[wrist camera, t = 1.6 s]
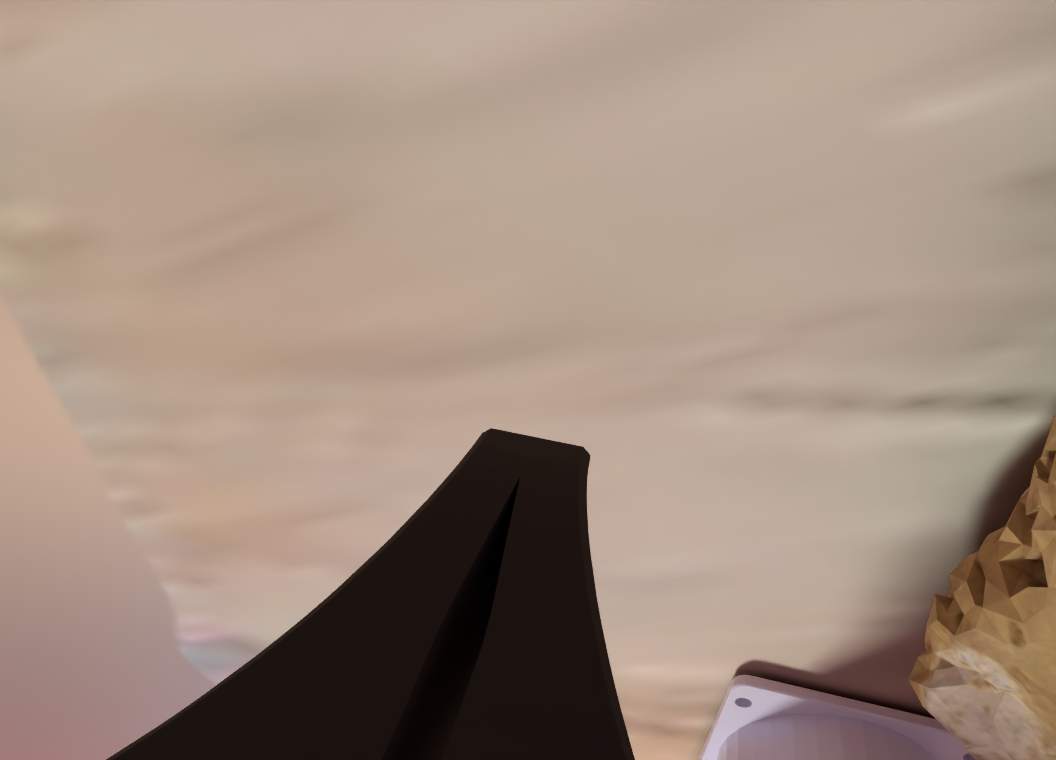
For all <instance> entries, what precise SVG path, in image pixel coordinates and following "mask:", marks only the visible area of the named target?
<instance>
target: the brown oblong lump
mask: <svg viewBox="0 0 1056 760" xmlns="http://www.w3.org/2000/svg"><path fill="white" fill-rule="evenodd" d="M949 579H950V582H951V585H952V587H951V589H950V591H949V593H948V595H947V596H946V597H944V596H939V595H935V597H934V601H933V604H932V608H931V611H930V615H929V618H928V621H927V626H926V633H925V639H924V642H925V648H926V651H925V652H924V653H923V654H921V655H920V656H919V657H917V660H916V662H915V664H914V666H913V669H912V671H911V673H910V676H909V678H908V680H909V682H910V684H911V686H912V687H913V689H914V691H915V693H916V695H917V697H918V699H919V700H920V702H921V704H922V706H923V707H924V708H925V709H926V710H927V711H928V712H929V713H930V714H931V715H932V716H933V717H934V718H936V719H937V720H938V721H939V722H940V723H941V724H942V725H943V726H944V727H945V728H946V729H947V730H948V731H949V732H950V733H951V734H952V735H953V736H954V737H955V738H957V739H958V740H959V741H960V742H961V743H962V744H963V745H964V747H965V748H966V750H967V752H968V753H969V754H970V755H971V756H972V757H974V758H975V759H976V760H1056V415H1055V417H1054V420H1053V423H1052V426H1051V429H1050V432H1049V435H1048V438H1047V441H1046V444H1045V447H1044V450H1043V453H1042V456H1041V457H1040V458H1039V459H1038V460H1037V461H1036V462H1035V465H1034V470H1033V474H1032V479H1031V484H1030V487H1029V488H1028V489H1027V490H1026V491H1025V492H1024V493H1023V495H1022V496H1021V497H1020V498H1019V500H1018V502H1017V504H1016V506H1015V508H1014V510H1013V512H1012V514H1011V516H1010V518H1009V520H1008V522H1007V524H1006V526H1004V527H1002V528H1000V529H998V530H996V531H994V532H992V533H990V534H988V535H987V537H986V538H985V540H984V541H983V543H982V544H981V546H980V547H979V549H978V550H977V551H975V552H973V553H971V554H970V555H968V556H967V557H966V558H965V559H964V560H963V561H962V562H961V564H960V565H959V566H958V567H957V568H956V569H955V570H954V571H953V572H952V573H951V574H950V576H949Z"/></svg>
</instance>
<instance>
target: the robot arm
mask: <svg viewBox="0 0 1056 760" xmlns="http://www.w3.org/2000/svg"><path fill="white" fill-rule="evenodd" d="M589 461H590V455H589V453H588V452H587V451H586V450H585V448H584V447H581V446H576V445H571V444H566V443H561V442H556V441H551V440H546V439H541V438H536V437H532V436H527V435H522V434H517V433H512V432H507V431H502V430H497V429H492V428H491V429H489V430H487V431H485V432H484V433H482V434H481V436H480V437H479V438H478V440H477V441H476V442H475V444H474V445H473V446H472V448H471V449H470V450H469V452H468V453H467V454H466V455H465V457H464V458H463V459H462V460H461V462H460V463H459V464H458V465H457V466H456V468H455V469H454V470H453V471H452V472H451V473H450V475H449V476H448V477H447V478H446V479H445V480H444V482H443V483H442V484H441V485H440V486H439V487H438V488H437V489H436V491H435V492H434V493H433V494H432V495H431V496H430V497H429V498H428V500H427V501H426V502H425V503H424V504H423V505H422V506H421V507H420V508H419V509H418V510H417V511H416V512H415V513H414V514H413V515H412V516H411V517H410V518H409V519H408V521H407V522H406V523H405V524H404V525H403V526H402V527H401V528H400V529H399V530H398V531H397V532H396V533H395V534H394V535H393V536H392V537H391V538H390V539H389V540H388V541H387V542H386V543H385V544H384V545H383V546H382V547H381V548H380V549H379V550H378V551H377V552H376V553H375V554H374V555H373V556H372V557H371V558H369V559H368V560H367V561H366V562H365V563H364V564H363V565H362V566H361V567H360V568H359V569H358V570H357V571H356V572H355V573H353V574H352V575H351V576H350V577H349V578H348V579H347V580H346V581H345V582H344V583H343V584H342V585H341V586H340V587H338V588H337V589H336V590H335V591H334V592H333V593H332V594H331V595H330V596H328V597H327V598H326V599H325V600H324V601H323V602H322V603H320V604H319V605H318V606H317V607H316V608H315V609H313V610H312V611H311V612H310V613H309V614H308V615H306V616H305V617H304V618H303V619H302V620H300V621H299V622H298V623H297V624H296V625H294V626H293V627H292V628H291V629H289V630H288V631H287V632H286V633H284V634H283V635H282V636H281V637H279V638H278V639H277V640H276V641H274V642H273V643H272V644H271V645H269V646H268V647H267V648H266V649H264V650H263V651H262V652H261V653H259V654H258V655H257V656H255V657H254V658H253V659H251V660H250V661H249V662H247V663H246V664H245V665H243V666H242V667H241V668H239V669H238V670H237V671H235V672H234V673H233V674H231V675H230V676H228V677H227V678H226V679H224V680H223V681H222V682H220V683H219V684H218V685H216V686H215V687H214V688H212V689H211V690H210V691H208V692H207V693H206V694H204V695H203V696H201V697H200V698H199V699H197V700H196V701H194V702H193V703H191V704H190V705H189V706H187V707H186V708H184V709H183V710H181V711H180V712H179V713H177V714H176V715H174V716H173V717H171V718H170V719H168V720H167V721H165V722H164V723H162V724H161V725H159V726H158V727H156V728H155V729H153V730H152V731H150V732H149V733H147V734H145V735H144V736H142V737H141V738H139V739H138V740H136V741H135V742H133V743H131V744H130V745H128V746H127V747H125V748H124V749H122V750H121V751H119V752H117V753H116V754H114V755H113V756H111V757H110V758H108V759H107V760H635V758H634V755H633V752H632V748H631V745H630V741H629V737H628V734H627V730H626V726H625V723H624V719H623V716H622V712H621V708H620V704H619V700H618V696H617V692H616V688H615V684H614V680H613V676H612V671H611V667H610V663H609V658H608V653H607V649H606V644H605V639H604V634H603V629H602V625H601V619H600V614H599V608H598V602H597V596H596V589H595V582H594V575H593V568H592V561H591V554H590V545H589V535H588V520H587V474H588V467H589ZM698 760H976V759H975V758H974V757H972V756H971V755H970V754H969V753H968V752H967V750H966V748H965V747H964V745H963V744H962V743H961V742H960V741H959V740H958V739H957V738H955V737H954V736H953V735H952V734H951V733H950V732H949V731H948V730H947V729H946V728H945V727H944V726H943V725H942V724H941V723H940V722H939V721H938V720H937V719H934V718H930V717H925V716H921V715H917V714H913V713H908V712H904V711H900V710H896V709H891V708H887V707H883V706H879V705H874V704H870V703H866V702H862V701H858V700H853V699H849V698H845V697H841V696H836V695H832V694H828V693H824V692H819V691H815V690H811V689H807V688H802V687H798V686H794V685H790V684H786V683H781V682H777V681H773V680H769V679H764V678H760V677H756V676H752V675H739V676H736V677H734V678H733V679H732V681H731V683H730V685H729V687H728V690H727V692H726V694H725V697H724V699H723V701H722V704H721V706H720V708H719V711H718V713H717V715H716V718H715V720H714V723H713V725H712V727H711V730H710V732H709V734H708V737H707V739H706V741H705V744H704V746H703V748H702V751H701V753H700V755H699V758H698Z"/></svg>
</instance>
